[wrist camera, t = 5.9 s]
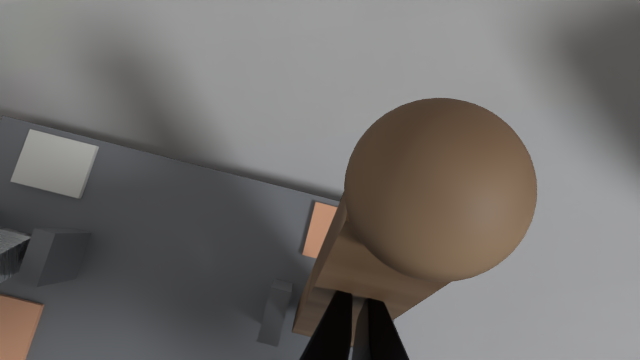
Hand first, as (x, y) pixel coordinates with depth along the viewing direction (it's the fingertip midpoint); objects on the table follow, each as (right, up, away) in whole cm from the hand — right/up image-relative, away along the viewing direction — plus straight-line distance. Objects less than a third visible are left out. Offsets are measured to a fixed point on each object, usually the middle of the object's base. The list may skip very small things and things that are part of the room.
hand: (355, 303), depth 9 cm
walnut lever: (-1, -3, +5) cm, 6 cm away
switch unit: (-7, -1, +8) cm, 11 cm away
